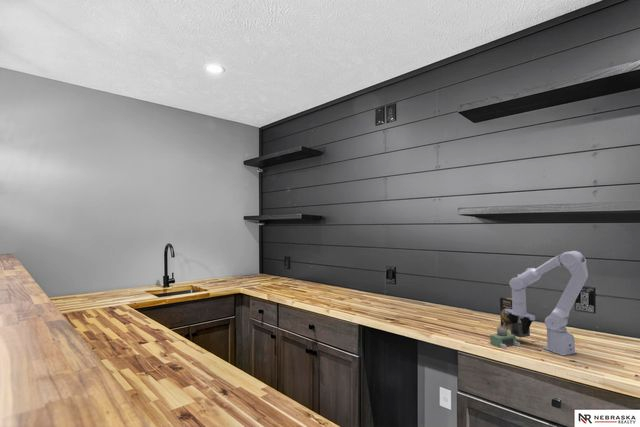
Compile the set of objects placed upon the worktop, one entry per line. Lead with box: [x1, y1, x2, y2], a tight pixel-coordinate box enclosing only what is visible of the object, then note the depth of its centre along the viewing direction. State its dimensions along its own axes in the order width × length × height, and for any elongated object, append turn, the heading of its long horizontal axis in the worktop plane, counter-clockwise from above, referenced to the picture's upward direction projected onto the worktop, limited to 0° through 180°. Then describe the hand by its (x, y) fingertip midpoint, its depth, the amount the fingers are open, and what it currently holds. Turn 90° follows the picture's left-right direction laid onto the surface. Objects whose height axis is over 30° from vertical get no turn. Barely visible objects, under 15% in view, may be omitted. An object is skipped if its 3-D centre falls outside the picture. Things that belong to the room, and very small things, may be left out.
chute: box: [510, 323, 531, 338], centre depth 160 cm, size 6×5×5 cm
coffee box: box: [499, 296, 523, 331], centre depth 180 cm, size 9×6×16 cm
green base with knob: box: [489, 326, 521, 350], centre depth 156 cm, size 8×10×7 cm
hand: (520, 332), depth 160 cm, fingers closed on chute, 5 cm apart
